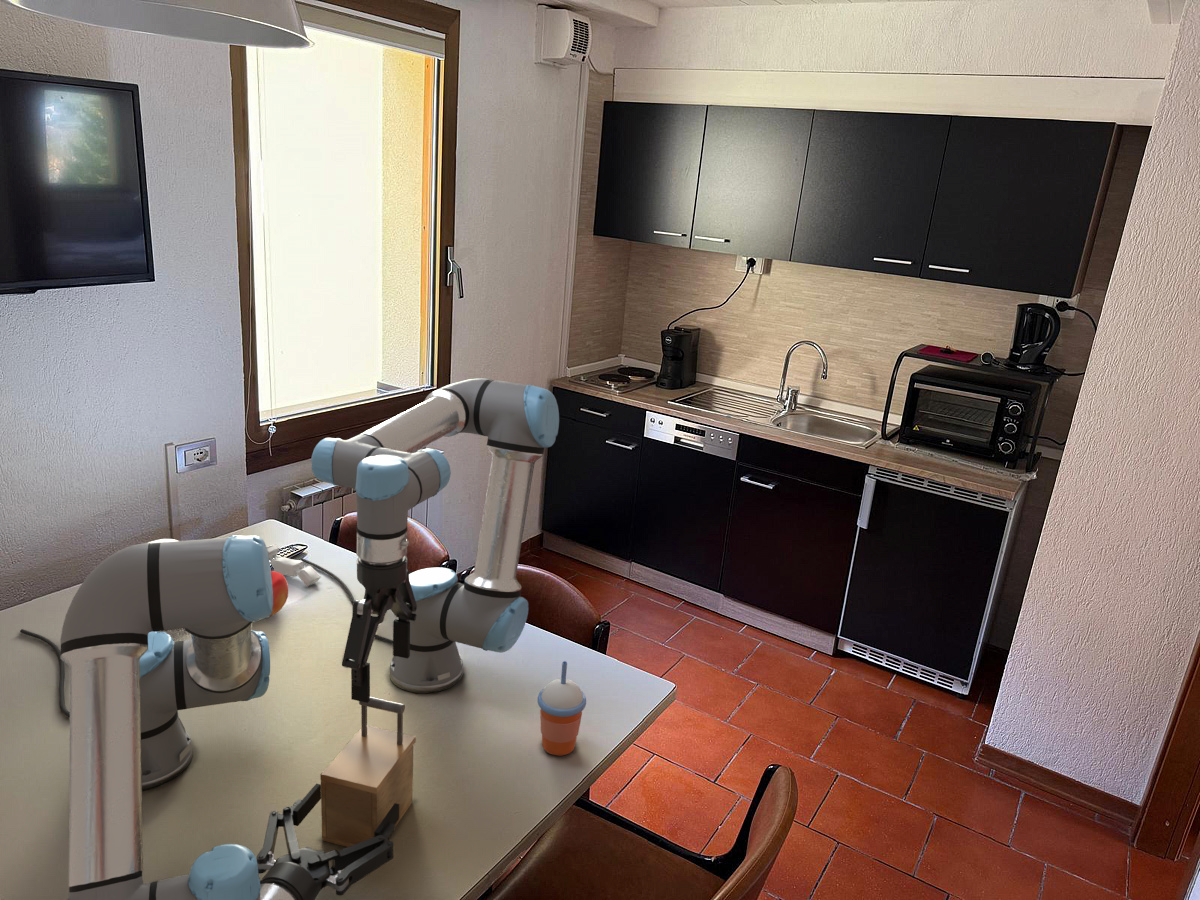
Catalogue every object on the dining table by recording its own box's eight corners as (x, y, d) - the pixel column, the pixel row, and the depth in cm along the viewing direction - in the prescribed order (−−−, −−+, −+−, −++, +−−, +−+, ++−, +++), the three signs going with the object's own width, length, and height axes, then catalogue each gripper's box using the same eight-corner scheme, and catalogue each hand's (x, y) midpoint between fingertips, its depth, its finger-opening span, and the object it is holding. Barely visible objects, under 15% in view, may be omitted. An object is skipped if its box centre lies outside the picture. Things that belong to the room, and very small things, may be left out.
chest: (361, 789, 147) (361, 733, 144) (412, 802, 145) (413, 745, 142) (321, 840, 135) (320, 780, 132) (376, 854, 133) (376, 794, 130)
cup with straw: (576, 765, 157) (583, 680, 152) (528, 755, 159) (534, 670, 154) (587, 736, 166) (594, 654, 161) (541, 727, 167) (547, 646, 162)
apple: (273, 600, 207) (272, 562, 204) (297, 613, 202) (296, 575, 199) (237, 614, 200) (234, 575, 197) (261, 628, 194) (259, 588, 191)
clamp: (253, 565, 223) (254, 542, 221) (265, 560, 226) (266, 537, 224) (309, 593, 215) (310, 569, 213) (320, 588, 218) (321, 564, 216)
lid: (363, 730, 145) (363, 685, 142) (415, 742, 143) (416, 697, 140) (320, 780, 132) (319, 732, 129) (376, 794, 130) (376, 746, 127)
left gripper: (198, 902, 119) (287, 802, 139) (361, 950, 113) (430, 839, 133) (195, 858, 117) (286, 763, 136) (361, 905, 111) (431, 799, 131)
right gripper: (364, 595, 119) (364, 726, 125) (438, 530, 142) (436, 643, 148) (315, 585, 120) (318, 715, 126) (397, 523, 143) (396, 635, 150)
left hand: (357, 800), depth 135 cm, fingers open, 13 cm apart
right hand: (381, 677), depth 137 cm, fingers open, 13 cm apart
